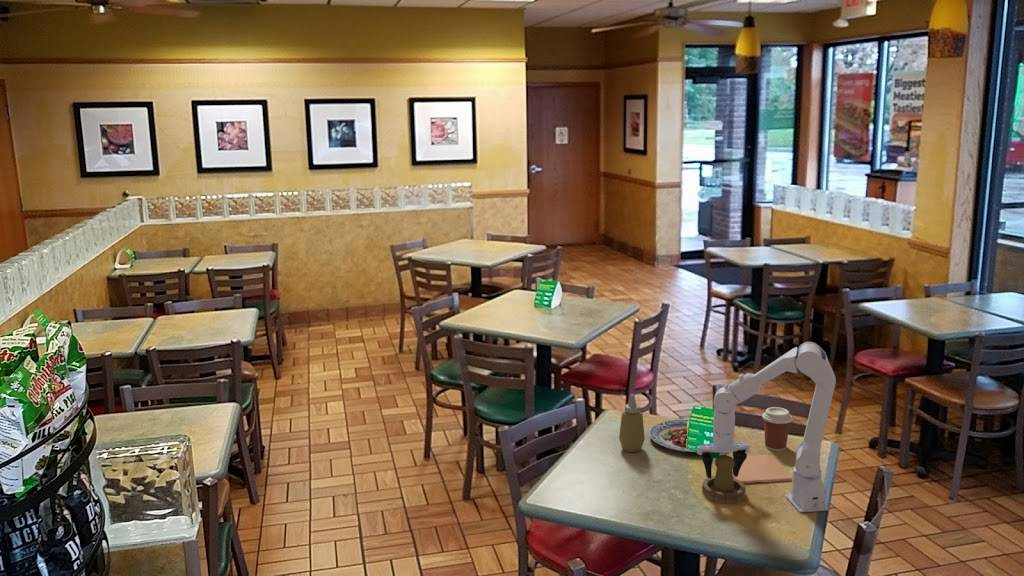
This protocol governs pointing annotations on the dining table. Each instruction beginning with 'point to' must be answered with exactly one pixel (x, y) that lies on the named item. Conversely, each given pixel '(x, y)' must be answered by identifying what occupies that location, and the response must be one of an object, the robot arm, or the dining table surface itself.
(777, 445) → the coffee cup
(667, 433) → the ceramic plate
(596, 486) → the dining table surface
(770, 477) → the coaster
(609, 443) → the dining table surface
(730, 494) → the holder ring
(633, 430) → the squeeze bottle
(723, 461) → the cork
